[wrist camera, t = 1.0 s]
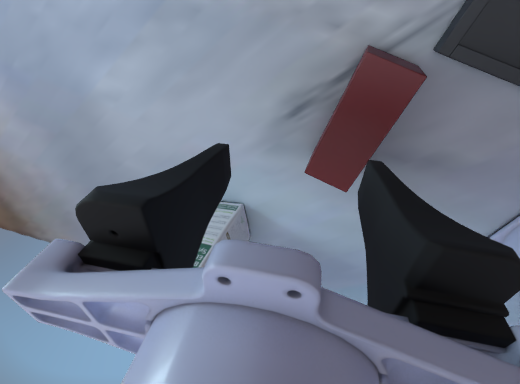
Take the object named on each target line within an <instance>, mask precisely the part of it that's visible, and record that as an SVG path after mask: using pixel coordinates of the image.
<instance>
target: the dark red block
mask: <svg viewBox="0 0 520 384" xmlns="http://www.w3.org/2000/svg"><path fill="white" fill-rule="evenodd" d="M426 78H427V76H426V75H425V74H424V72H423V71H422V70H421V69H420V67H419V66H417V65H415V64H412V63H410V62H408V61H405V60H403V59H400V58H398V57H396V56H393V55H391V54H388V53H386V52H384V51H381V50H379V49H376V48H374V47H372V46H369V45H368V47H367V49H366V51H365V52H364V54H363V56H362V58H361V60H360V62H359V64H358V66H357V68H356V70H355V72H354V74H353V76H352V78H351V80H350V82H349V84H348V86H347V87H346V89H345V91H344V93H343V95H342V97H341V99H340V101H339V103H338V105H337V107H336V109H335V111H334V113H333V115H332V117H331V119H330V121H329V123H328V124H327V126H326V128H325V130H324V132H323V134H322V136H321V138H320V140H319V142H318V144H317V146H316V148H315V150H314V152H313V154H312V156H311V158H310V161H309V163H308V165H307V167H306V170H305V173H306V174H308V175H310V176H313V177H315V178H317V179H319V180H321V181H323V182H325V183H327V184H329V185H331V186H334V187H336V188H338V189H340V190H342V191H344V192H347V191H348V189H349V188H350V187H351V185H352V184H353V182H354V181H355V179H356V178H357V177H358V175H359V174H360V172H361V171H362V169H363V168H364V167H365V165H366V164H367V162H368V160H369V159H370V158H371V157H372V155H373V154H374V152H375V151H376V149H377V148H378V146H379V145H380V144H381V142H382V141H383V139H384V138H385V136H386V135H387V134H388V132H389V131H390V129H391V128H392V126H393V125H394V124H395V122H396V121H397V119H398V118H399V116H400V115H401V113H402V112H403V111H404V109H405V108H406V106H407V105H408V103H409V102H410V101H411V99H412V98H413V96H414V95H415V93H416V92H417V91H418V89H419V88H420V86H421V85H422V83H423V82H424V81H425V79H426Z"/></svg>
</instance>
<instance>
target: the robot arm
mask: <svg viewBox="0 0 520 384" xmlns="http://www.w3.org/2000/svg"><path fill="white" fill-rule="evenodd" d="M230 178H231V167H230V153H229V144H220V143H218V144H215V145H213V146H212V147H210V148H208V149H207V150H205V151H203V152H201V153H200V154H198V155H196V156H195V157H193V158H191V159H189V160H187V161H185V162H183V163H181V164H179V165H177V166H175V167H173V168H170V169H168V170H165V171H163V172H160V173H157V174H154V175H151V176H148V177H145V178H141V179H137V180H133V181H128V182H124V183H118V184H112V185H105V186H97V187H96V188H95V189H94V190H93V191H91V192H90V193H89V194H88V195H87V196H86V197H85V198H84V199H82V200H81V201H80V202H79V203H78V204H77V206H76V208H75V210H76V216H77V218H78V221H79V222H80V224H81V226H82V227H83V229H84V231H85V232H86V234H87V235H88V237H89V239H90V240H91V241H90V242H89V243H88V244H87V245H86V246H84V245H82V244H81V243H78V242H74V241H69V240H63V239H54V240H53V241H52V242H51V243H50V244H49V245H48V246H47V247H46V248H45V249H44V250H42V251H41V252H40V254H38V255H37V256H36V257H35V258H34V259H33V260H32V261H31V262H30V263H29V264H27V265H26V266H25V268H23V269H22V270H21V271H20V272H19V273H18V274H17V275H16V276H15V277H14V278H13V279H11V280H10V281H9V282H8V283H7V284H6V285H5V286H4V287H3V288H2V291H3V292H4V293H5V294H7V295H8V296H9V297H10V298H11V299H12V300H13V301H15V302H16V303H17V304H18V305H20V307H21V308H23V309H24V310H25V311H26V312H27V313H28V314H30V315H31V316H32V317H33V318H34V319H35V320H36V321H38V322H40V323H44V324H48V325H51V326H55V327H59V328H62V329H66V330H69V331H72V332H75V333H78V334H81V335H84V336H87V337H90V338H93V339H96V340H98V341H101V342H104V343H106V344H109V345H112V346H115V347H118V348H120V349H123V350H126V351H129V352H131V353H134V354H136V356H135V358H134V360H133V362H132V364H131V365H130V367H129V369H128V371H127V373H126V375H125V377H124V379H123V381H122V383H121V384H520V326H511V327H509V325H508V323H507V322H506V320H505V318H504V317H507V316H508V315H509V312H508V310H507V308H506V306H505V305H504V303H505V302H506V301H508V300H509V299H510V298H511V297H512V296H514V295H515V294H516V293H517V292H518V291H520V216H519V217H517V218H516V219H515V220H513V221H512V222H510V223H509V224H508V225H506V226H505V227H503V228H502V229H501V230H499V231H498V232H496V233H495V234H494V235H492V236H491V237H489V238H487V237H485V236H483V235H481V234H479V233H477V232H475V231H473V230H471V229H469V228H467V227H465V226H463V225H461V224H459V223H457V222H456V221H454V220H452V219H451V218H449V217H447V216H445V215H444V214H442V213H441V212H439V211H438V210H436V209H435V208H433V207H432V206H430V205H429V204H428V203H426V202H425V201H424V200H422V199H421V198H420V197H418V196H417V195H416V194H415V193H414V192H413V191H411V190H410V189H409V188H408V187H407V186H406V185H405V184H404V183H403V182H402V181H401V180H400V179H399V178H398V177H397V176H396V175H395V174H394V173H393V172H392V171H391V170H390V169H389V168H388V167H387V166H386V165H385V164H384V163H383V162H381V161H373V160H368V163H367V166H366V169H365V172H364V175H363V178H362V181H361V184H360V188H359V191H358V209H359V215H360V221H361V226H362V231H363V237H364V242H365V249H366V263H367V289H368V306H367V305H364V304H362V303H359V302H357V301H355V300H352V299H350V298H347V297H345V296H342V295H340V294H337V293H335V292H332V291H330V290H327V289H325V288H323V287H321V267H320V263H319V262H318V261H317V260H316V259H315V258H314V257H313V256H311V255H310V254H308V253H305V252H302V251H299V250H296V249H290V248H284V247H278V246H272V245H266V244H261V243H255V242H249V241H243V240H237V239H236V240H222V241H220V242H218V243H216V244H215V245H214V246H213V249H212V251H211V253H210V256H209V258H208V260H207V262H206V265H205V267H200V268H193V266H194V263H195V260H196V257H197V254H198V251H199V248H200V245H201V243H202V240H203V237H204V235H205V232H206V229H207V227H208V224H209V222H210V220H211V218H212V216H213V214H214V213H215V211H216V209H217V207H218V205H219V203H220V201H221V199H222V197H223V195H224V193H225V191H226V189H227V186H228V184H229V181H230Z"/></svg>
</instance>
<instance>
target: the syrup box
mask: <svg viewBox="0 0 520 384" xmlns="http://www.w3.org/2000/svg"><path fill="white" fill-rule="evenodd" d="M249 238H250V232H249V227H248V222H247V218H246V213H245V209H244V205H243V204H240V203H239V204H236V203H228V202H220V203H219V205H218V207H217V209H216V211H215V213H214V214H213V216H212V218H211V220H210V222H209V224H208V227H207V229H206V232H205V235H204V237H203V240H202V243H201V245H200V248H199V251H198V254H197V257H196V260H195V263H194V266H193V268H200V267H205V265H206V262H207V260H208V258H209V256H210V253H211V251H212V249H213V246H214V245H215V244H216V243H218V242H220V241H222V240H236V239H237V240H243V241H248V240H249Z"/></svg>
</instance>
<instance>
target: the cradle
mask: <svg viewBox="0 0 520 384" xmlns="http://www.w3.org/2000/svg"><path fill="white" fill-rule="evenodd" d="M434 51H436V52H438V53H440V54H442V55H445V56H447V57H450V58H452V59H454V60H457V61H459V62H462V63H464V64H467V65H469V66H472V67H474V68H477V69H479V70H481V71H484V72H486V73H489V74H491V75H494V76H496V77H499V78H501V79H503V80H506V81H508V82H511V83H513V84H516V85H518V86H520V0H466V2H465V3H464V5H463V6H462V8H461V9H460V11H459V12H458V14H457V15H456V17H455V18H454V20H453V21H452V23H451V24H450V26H449V27H448V29H447V30H446V31H445V33H444V34H443V36H442V37H441V39H440V40H439V42H438V43H437V45H436V46H435V48H434Z"/></svg>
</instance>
